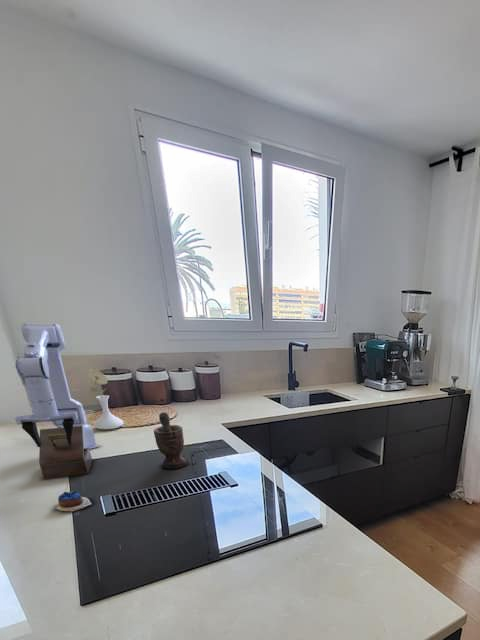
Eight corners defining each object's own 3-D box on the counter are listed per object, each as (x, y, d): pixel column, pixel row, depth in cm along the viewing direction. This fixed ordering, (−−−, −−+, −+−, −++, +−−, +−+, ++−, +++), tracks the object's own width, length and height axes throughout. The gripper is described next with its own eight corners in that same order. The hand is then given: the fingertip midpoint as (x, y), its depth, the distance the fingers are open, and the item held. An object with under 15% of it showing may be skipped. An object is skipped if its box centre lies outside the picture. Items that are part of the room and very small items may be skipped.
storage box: (52, 464, 132) (48, 452, 130) (92, 460, 137) (88, 447, 135) (44, 479, 121) (39, 465, 119) (87, 473, 126) (84, 460, 124)
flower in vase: (129, 427, 174) (117, 369, 164) (103, 433, 165) (88, 372, 155) (114, 422, 180) (101, 366, 170) (87, 427, 171) (72, 369, 161)
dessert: (47, 506, 104) (56, 485, 105) (71, 510, 110) (79, 490, 111) (67, 514, 101) (77, 493, 102) (90, 518, 107) (99, 497, 108)
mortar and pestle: (195, 468, 132) (186, 410, 124) (168, 475, 127) (157, 414, 119) (182, 459, 140) (173, 403, 132) (157, 464, 135) (145, 407, 127)
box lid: (40, 430, 126) (35, 421, 122) (82, 427, 131) (78, 417, 127) (39, 465, 119) (34, 456, 116) (84, 460, 124) (80, 451, 121)
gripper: (6, 405, 108) (22, 451, 113) (70, 401, 114) (82, 445, 120) (13, 399, 114) (28, 444, 119) (73, 396, 120) (84, 438, 125)
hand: (55, 444), depth 120 cm, fingers open, 7 cm apart
